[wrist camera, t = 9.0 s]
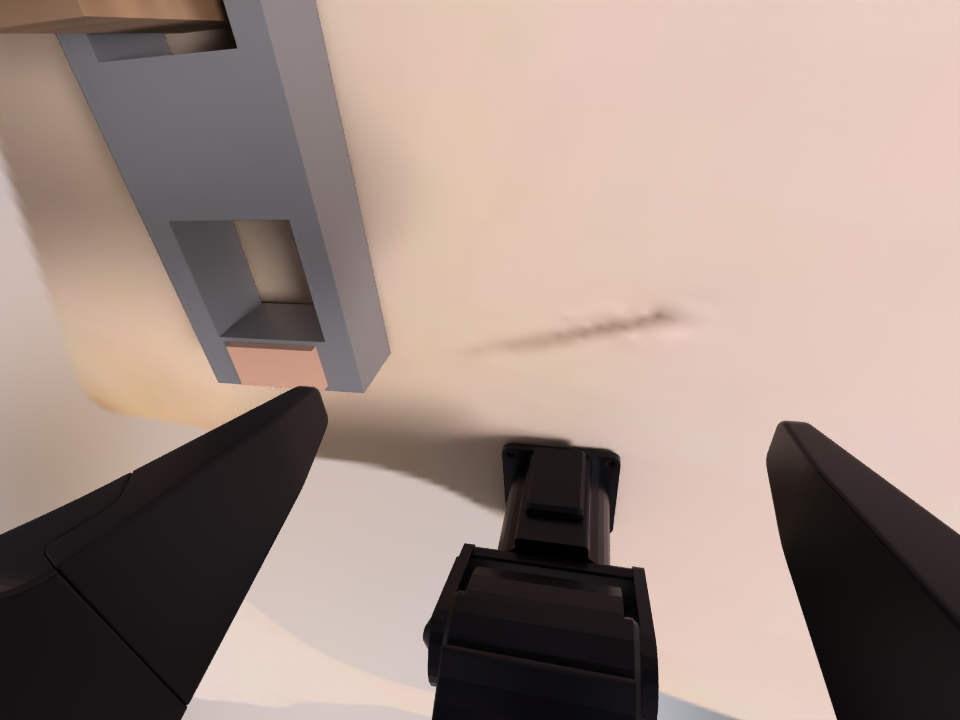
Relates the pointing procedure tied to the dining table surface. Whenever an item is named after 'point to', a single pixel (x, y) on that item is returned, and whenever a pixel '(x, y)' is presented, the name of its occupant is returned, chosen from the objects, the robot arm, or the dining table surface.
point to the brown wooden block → (112, 16)
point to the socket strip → (244, 188)
